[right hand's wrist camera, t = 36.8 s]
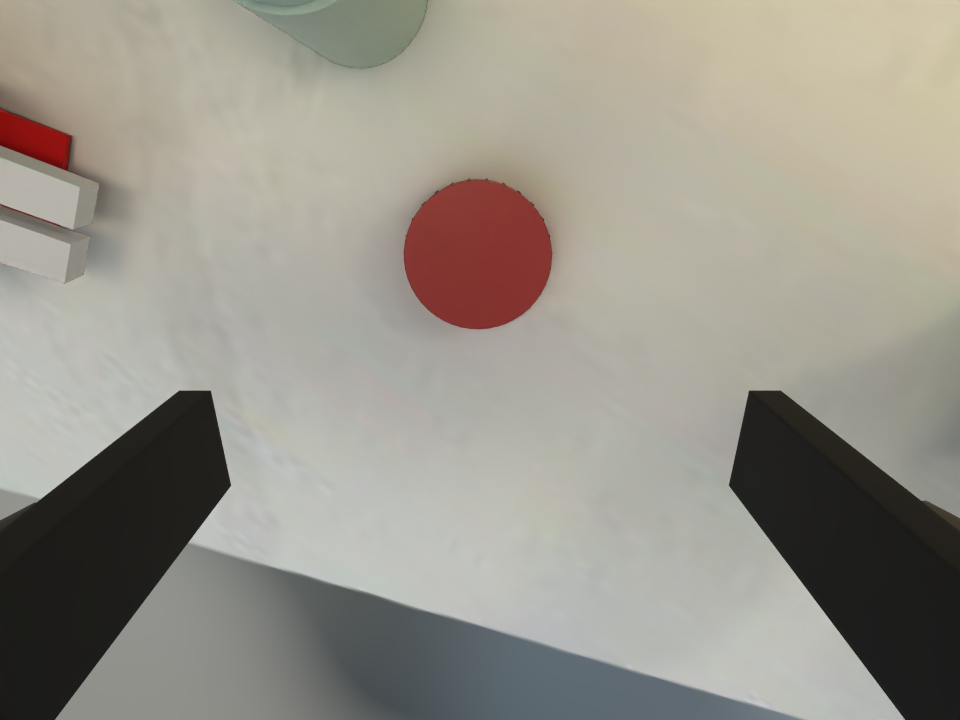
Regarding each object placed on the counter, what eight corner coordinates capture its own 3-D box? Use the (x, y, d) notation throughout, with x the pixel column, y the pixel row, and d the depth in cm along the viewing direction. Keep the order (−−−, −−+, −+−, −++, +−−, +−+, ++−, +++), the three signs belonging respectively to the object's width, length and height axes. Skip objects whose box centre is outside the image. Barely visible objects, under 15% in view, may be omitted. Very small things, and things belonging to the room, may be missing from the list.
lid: (577, 238, 36) (584, 243, 34) (491, 345, 39) (492, 356, 37) (462, 146, 34) (461, 145, 32) (380, 267, 37) (374, 274, 35)
